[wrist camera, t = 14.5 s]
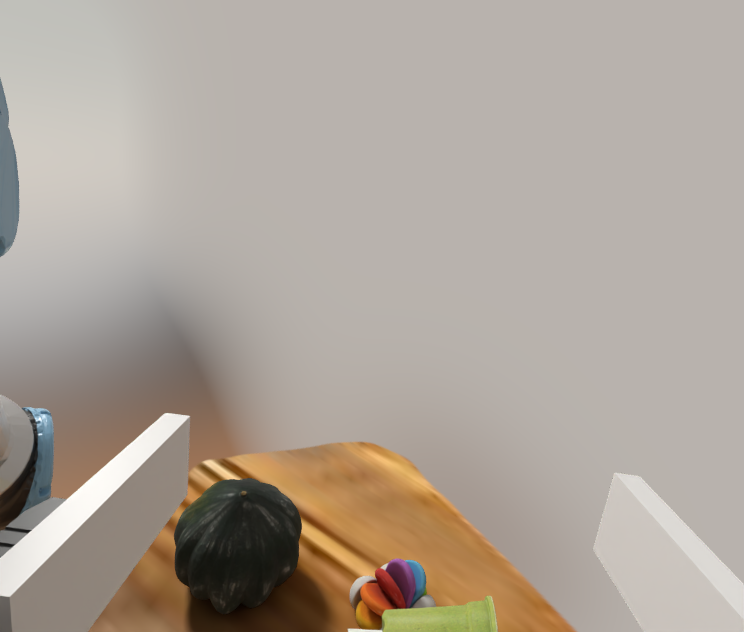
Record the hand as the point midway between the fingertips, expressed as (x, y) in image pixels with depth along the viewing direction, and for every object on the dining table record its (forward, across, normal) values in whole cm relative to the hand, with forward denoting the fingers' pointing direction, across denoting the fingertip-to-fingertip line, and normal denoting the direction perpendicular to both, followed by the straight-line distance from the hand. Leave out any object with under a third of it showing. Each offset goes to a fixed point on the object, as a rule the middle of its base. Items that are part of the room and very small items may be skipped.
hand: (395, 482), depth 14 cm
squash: (+34, -14, -38) cm, 53 cm away
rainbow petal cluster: (+31, +5, -38) cm, 50 cm away
